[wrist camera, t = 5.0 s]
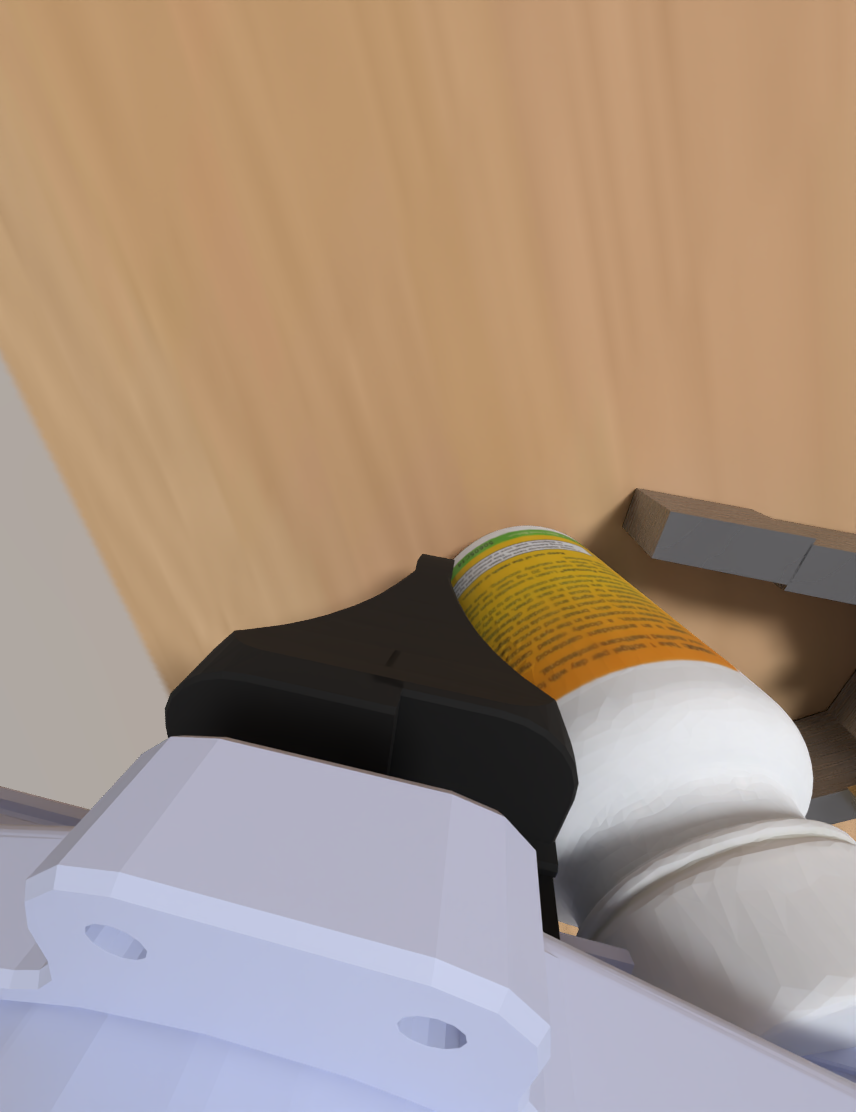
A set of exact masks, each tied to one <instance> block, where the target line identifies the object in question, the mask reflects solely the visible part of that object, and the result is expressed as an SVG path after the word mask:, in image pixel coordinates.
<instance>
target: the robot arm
mask: <svg viewBox="0 0 856 1112" xmlns="http://www.w3.org/2000/svg"><path fill="white" fill-rule="evenodd" d="M454 562H455V560H452V559H446V558H441V557H436V556H431V555H426V554H422V555H421V556H420V558H419V559H418V561H417V566H416V570H415V571H414V572H413V573H411V574H410V575H409V576H407V577H406V578H404V579H403V580H402V581H400V582H399V583H397V584H396V585H394V586H393V587H391V588H389V589H388V590H386V591H385V592H383V593H381V594H379V595H377V596H375V597H373V598H371V599H369V600H367V601H364V602H362V603H360V604H358V605H355V606H352V607H349V608H346V609H343V610H340V611H337V612H334V613H331V614H329V615H325V616H321V617H317V618H313V619H309V620H305V621H300V622H295V623H290V624H285V625H278V626H271V627H263V628H255V629H247V630H237V631H234V632H233V633H232V634H230V635H229V636H228V637H227V638H226V639H225V640H224V641H222V642H221V643H220V644H219V645H218V646H217V647H216V648H215V649H214V650H213V651H212V652H211V653H210V654H209V655H208V656H207V657H206V658H205V659H204V660H203V661H202V662H201V663H200V664H199V665H198V666H197V667H196V668H195V669H194V670H193V671H192V672H191V673H190V674H189V675H188V676H187V677H186V678H185V679H184V680H183V681H182V682H181V683H180V684H179V685H178V686H177V687H176V688H175V689H174V691H173V692H172V693H171V694H170V696H169V699H168V702H167V704H166V707H165V720H166V721H165V722H166V729H167V735H168V739H166V740H164V741H163V742H161V743H160V744H158V745H156V746H154V747H153V748H151V749H149V750H148V751H146V752H144V753H143V754H141V756H140V757H139V758H138V759H137V760H136V761H135V762H134V763H133V764H132V765H131V766H130V767H129V769H128V770H127V771H126V772H125V773H124V774H123V775H122V776H121V777H120V778H119V779H118V780H117V782H116V783H115V784H114V785H113V786H112V787H111V788H110V789H109V790H108V791H107V792H106V794H105V795H104V796H103V797H102V798H101V799H100V800H99V801H98V802H97V803H96V804H95V805H94V806H93V808H92V809H91V810H89V809H85V808H82V807H78V806H74V805H70V804H66V803H62V802H59V801H55V800H51V799H47V798H43V797H39V796H35V795H31V794H28V793H24V792H20V791H16V790H12V789H9V788H5V787H1V786H0V1112H856V1047H852V1048H846V1049H840V1050H834V1051H828V1052H821V1053H816V1054H810V1055H805V1056H802V1057H800V1056H798V1055H796V1054H794V1053H792V1052H790V1051H788V1050H786V1049H784V1048H782V1047H779V1046H777V1045H775V1044H773V1043H771V1042H769V1041H767V1040H765V1039H763V1038H761V1037H759V1036H757V1035H755V1034H753V1033H751V1032H748V1031H746V1030H744V1029H742V1028H740V1027H738V1026H736V1025H734V1024H732V1023H730V1022H728V1021H726V1020H724V1019H722V1018H720V1017H717V1016H715V1015H713V1014H711V1013H709V1012H707V1011H705V1010H703V1009H701V1008H699V1007H697V1006H695V1005H693V1004H691V1003H689V1002H686V1001H684V1000H682V999H680V998H678V997H676V996H674V995H672V994H670V993H668V992H666V991H664V990H662V989H660V988H658V987H655V986H653V985H651V984H649V983H647V982H645V981H643V980H641V979H639V978H637V977H635V976H633V975H631V973H632V970H633V968H634V962H633V960H632V958H631V956H630V953H629V951H628V950H626V949H623V948H619V947H615V946H611V945H608V944H604V943H600V942H596V941H592V940H588V939H585V938H581V937H577V936H573V935H569V934H565V933H562V932H559V925H558V916H557V907H556V899H555V890H554V881H553V878H555V877H556V875H557V873H558V858H557V850H556V842H555V840H556V838H557V836H558V834H559V832H560V830H561V828H562V825H563V823H564V821H565V819H566V817H567V815H568V813H569V811H570V809H571V806H572V804H573V802H574V800H575V796H576V792H577V788H578V784H579V781H578V775H577V767H576V761H575V756H574V752H573V748H572V744H571V741H570V738H569V735H568V732H567V729H566V726H565V724H564V721H563V718H562V715H561V713H560V710H559V707H558V705H557V702H556V700H555V699H553V698H552V697H551V696H549V695H548V694H546V693H545V692H544V691H542V690H541V689H539V688H538V687H536V686H535V685H534V684H532V683H531V682H529V681H528V680H527V679H525V678H524V677H522V676H521V675H520V674H519V673H518V672H516V671H515V670H514V669H513V668H512V667H511V666H509V665H508V664H507V663H506V662H505V661H504V660H503V659H502V658H501V657H500V656H498V655H497V654H496V653H495V652H494V651H493V650H492V648H491V647H490V646H489V645H488V644H487V643H486V642H485V641H484V640H483V638H482V637H481V636H480V635H479V634H478V632H477V631H476V630H475V628H474V627H473V625H472V624H471V622H470V621H469V619H468V617H467V616H466V614H465V612H464V610H463V608H462V607H461V605H460V603H459V601H458V598H457V596H456V594H455V591H454V589H453V586H452V584H451V578H452V573H453V568H454Z"/></svg>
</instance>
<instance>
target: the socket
mask: <svg viewBox="0 0 856 1112" xmlns="http://www.w3.org/2000/svg"><path fill="white" fill-rule="evenodd" d="M622 527H623V528H624V529H625V530H626V532H627V533H628V534H629V535H630V536H631V537H632V538H633V539H634V540H635V541H636V542H637V543H638V544H639V545H640V546H641V547H642V548H643V550H644V551H645V552H646V553H647V554H648V555H649V556H650V557H651V558H654V559H659V560H664V561H669V562H674V563H679V564H684V565H689V566H694V567H699V568H704V569H709V570H714V571H719V572H724V573H729V574H734V575H739V576H745V577H750V578H755V579H760V580H765V581H770V582H773V583H774V584H775V585H777V586H778V587H780V588H781V589H783V590H784V591H789V592H794V593H799V594H804V595H809V596H814V597H819V598H824V599H829V600H834V601H839V602H844V603H849V604H855V605H856V534H852V533H847V532H841V531H836V530H831V529H825V528H820V527H814V526H809V525H804V524H798V523H793V522H787V521H782V520H777V519H772V518H770V517H768V516H765V515H763V514H761V513H759V512H757V511H754V510H752V509H747V508H741V507H736V506H730V505H725V504H720V503H714V502H709V501H703V500H698V499H692V498H687V497H682V496H676V495H671V494H665V493H660V492H654V491H649V490H644V489H638V488H636V491H635V494H634V496H633V499H632V502H631V504H630V507H629V510H628V513H627V515H626V518H625V521H624V524H623V526H622ZM794 724H795V725H796V727H797V728H798V730H799V732H800V734H801V735H802V737H803V739H804V741H805V744H806V746H807V749H808V752H809V756H810V760H811V764H812V772H813V790H812V797H811V801H810V805H809V808H808V811H807V814H806V816H805V818H806V819H808V820H816V821H820V822H824V823H828V824H835V823H839V822H843V821H847V820H851V819H856V671H855V673H854V674H853V675H852V677H851V678H850V679H849V681H848V682H847V684H846V685H845V686H844V688H843V689H842V691H841V692H840V693H839V695H838V696H837V698H836V699H835V700H834V702H833V703H832V705H831V706H830V707H829V709H828V710H827V711H824V712H821V713H818V714H815V715H812V716H809V717H806V718H803V719H800V720H797V721H794Z"/></svg>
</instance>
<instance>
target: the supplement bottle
mask: <svg viewBox="0 0 856 1112" xmlns="http://www.w3.org/2000/svg"><path fill="white" fill-rule="evenodd" d="M454 560H455V562H454V568H453V573H452V578H451V584H452V586H453V589H454V591H455V594H456V596H457V598H458V601H459V603H460V605H461V607H462V608H463V610H464V612H465V614H466V616H467V617H468V619H469V621H470V622H471V624H472V625H473V627H474V628H475V630H476V631H477V632H478V634H479V635H480V636H481V637H482V638H483V640H484V641H485V642H486V643H487V644H488V645H489V646H490V647H491V648H492V650H493V651H494V652H495V653H496V654H497V655H498V656H500V657H501V658H502V659H503V660H504V661H505V662H506V663H507V664H508V665H509V666H511V667H512V668H513V669H514V670H515V671H516V672H518V673H519V674H520V675H521V676H522V677H524V678H525V679H527V680H528V681H529V682H531V683H532V684H534V685H535V686H536V687H538V688H539V689H541V690H542V691H544V692H545V693H546V694H548V695H549V696H551V697H552V698H553V699H555V700H556V702H557V705H558V707H559V710H560V713H561V715H562V718H563V721H564V724H565V726H566V729H567V732H568V735H569V738H570V741H571V744H572V748H573V752H574V756H575V761H576V767H577V775H578V781H579V784H578V788H577V792H576V796H575V800H574V802H573V804H572V806H571V809H570V811H569V813H568V815H567V817H566V819H565V821H564V823H563V825H562V828H561V830H560V832H559V834H558V836H557V838H556V840H555V842H556V850H557V858H558V873H557V875H556V877H555V878H553V881H554V890H555V899H556V907H557V916H558V921H560V922H563V923H566V924H569V925H573V926H576V927H578V928H579V930H578V933H577V935H576V936H577V937H581V938H585V939H588V940H592V941H596V942H600V943H604V944H608V945H611V946H615V947H619V948H623V949H626V950H628V951H629V953H630V956H631V958H632V960H633V962H634V968H633V970H632V973H631V975H633V976H635V977H637V978H639V979H641V980H643V981H645V982H647V983H649V984H651V985H653V986H655V987H658V988H660V989H662V990H664V991H666V992H668V993H670V994H672V995H674V996H676V997H678V998H680V999H682V1000H684V1001H686V1002H689V1003H691V1004H693V1005H695V1006H697V1007H699V1008H701V1009H703V1010H705V1011H707V1012H709V1013H711V1014H713V1015H715V1016H717V1017H720V1018H722V1019H724V1020H726V1021H728V1022H730V1023H732V1024H734V1025H736V1026H738V1027H740V1028H742V1029H744V1030H746V1031H748V1032H751V1033H753V1034H755V1035H757V1036H759V1037H761V1038H763V1039H765V1040H767V1041H769V1042H771V1043H773V1044H775V1045H777V1046H779V1047H782V1048H784V1049H786V1050H788V1051H790V1052H792V1053H794V1054H796V1055H798V1056H800V1057H802V1056H805V1055H810V1054H816V1053H821V1052H828V1051H834V1050H840V1049H846V1048H852V1047H856V842H855V841H854V840H853V839H852V838H851V837H850V836H849V835H848V834H847V833H846V832H844V831H842V830H841V829H839V828H837V827H835V826H833V825H831V824H828V823H824V822H820V821H816V820H808V819H806V818H805V816H806V814H807V811H808V808H809V805H810V801H811V797H812V790H813V772H812V764H811V760H810V756H809V752H808V749H807V746H806V744H805V741H804V739H803V737H802V735H801V734H800V732H799V730H798V728H797V727H796V725H795V724H794V722H793V721H792V720H791V718H790V717H789V716H788V715H787V713H786V712H785V711H784V710H783V709H782V708H781V707H780V706H779V705H778V704H777V703H776V702H775V701H774V700H773V699H772V698H771V697H769V696H768V695H767V694H766V693H765V692H764V691H762V690H761V689H760V688H759V687H758V686H757V685H755V684H754V683H753V682H752V681H751V680H749V679H748V678H747V677H746V676H745V675H743V674H742V673H741V672H740V671H739V670H737V669H736V668H735V667H734V666H733V665H731V664H730V663H729V662H728V661H726V660H725V659H724V658H723V657H721V656H720V655H719V654H717V653H716V652H715V651H714V650H712V649H711V648H710V647H708V646H707V645H706V644H705V643H703V642H702V641H701V640H700V639H698V638H697V637H696V636H695V635H693V634H692V633H691V632H690V631H688V630H687V629H686V628H685V627H683V626H682V625H681V624H680V623H678V622H677V621H676V620H675V619H673V618H672V617H671V616H670V615H668V614H667V613H666V612H665V611H663V610H662V609H661V608H660V607H658V606H657V605H656V604H655V603H653V602H652V601H651V600H650V599H648V598H647V597H646V596H645V595H643V594H642V593H641V592H640V591H638V590H637V589H636V588H635V587H633V586H632V585H631V584H630V583H628V582H627V581H626V580H625V579H623V578H622V577H621V576H620V575H618V574H617V573H616V572H615V571H614V570H612V569H611V568H610V567H609V566H607V565H606V564H605V563H604V562H603V561H601V560H600V559H599V558H597V557H596V556H595V555H594V554H593V553H591V552H590V551H589V550H588V549H586V548H585V547H584V546H582V545H581V544H579V543H578V542H577V541H576V540H574V539H573V538H571V537H569V536H567V535H565V534H563V533H561V532H559V531H556V530H553V529H549V528H545V527H539V526H515V527H509V528H504V529H501V530H497V531H495V532H492V533H489V534H487V535H485V536H483V537H481V538H480V539H478V540H476V541H475V542H473V543H472V544H471V545H469V546H468V547H466V548H465V549H464V550H463V551H462V552H460V553H459V554H458V555H457V556H456V557H455V559H454Z"/></svg>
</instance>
